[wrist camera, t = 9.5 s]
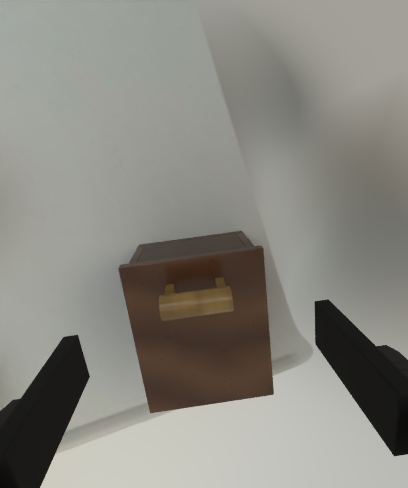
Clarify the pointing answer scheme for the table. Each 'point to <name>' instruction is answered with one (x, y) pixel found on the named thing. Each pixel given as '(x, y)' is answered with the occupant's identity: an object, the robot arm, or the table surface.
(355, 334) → the robot arm
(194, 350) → the lid
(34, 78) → the table surface
